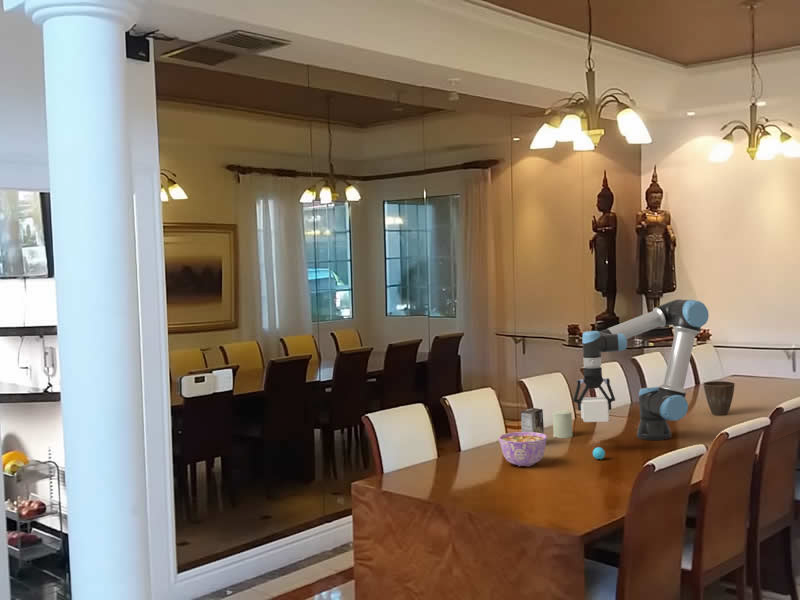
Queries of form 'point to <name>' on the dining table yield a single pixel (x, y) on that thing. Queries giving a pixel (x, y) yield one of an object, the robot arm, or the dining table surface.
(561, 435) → the can
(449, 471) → the dining table surface
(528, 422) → the coffee box
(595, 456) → the ball
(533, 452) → the bowl of food
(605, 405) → the white rounded cube
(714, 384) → the plant pot
